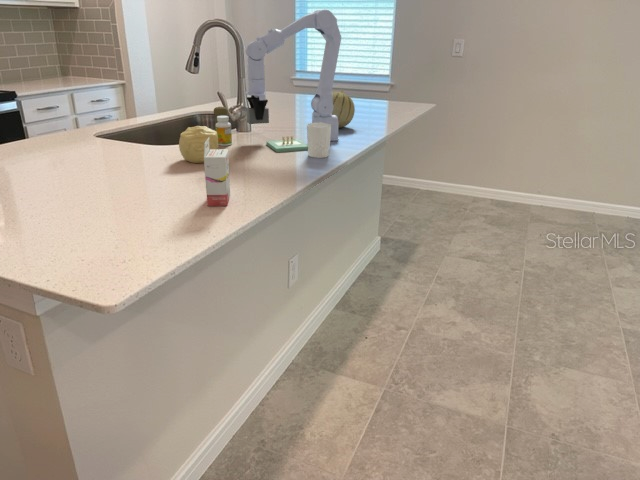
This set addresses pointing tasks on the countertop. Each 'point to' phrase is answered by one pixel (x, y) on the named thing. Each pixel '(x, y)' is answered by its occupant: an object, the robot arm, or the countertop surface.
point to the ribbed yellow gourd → (343, 108)
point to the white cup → (318, 139)
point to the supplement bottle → (223, 131)
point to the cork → (220, 113)
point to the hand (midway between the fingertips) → (257, 118)
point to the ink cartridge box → (216, 175)
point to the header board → (287, 145)
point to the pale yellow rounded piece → (197, 143)
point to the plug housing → (252, 118)
